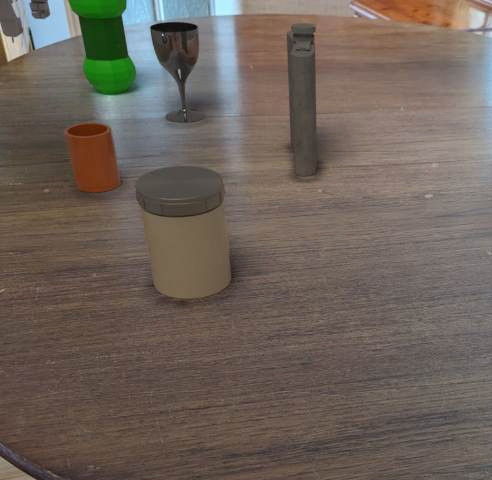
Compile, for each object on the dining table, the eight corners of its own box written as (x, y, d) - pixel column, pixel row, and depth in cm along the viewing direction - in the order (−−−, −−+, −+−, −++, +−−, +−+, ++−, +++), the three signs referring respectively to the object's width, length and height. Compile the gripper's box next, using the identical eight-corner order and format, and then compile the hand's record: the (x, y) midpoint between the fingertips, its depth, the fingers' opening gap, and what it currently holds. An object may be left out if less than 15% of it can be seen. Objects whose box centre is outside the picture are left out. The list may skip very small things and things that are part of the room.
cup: (82, 195, 103) (70, 140, 98) (71, 180, 107) (59, 126, 102) (126, 187, 106) (116, 133, 101) (114, 173, 110) (103, 120, 105)
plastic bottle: (76, 88, 143) (46, -58, 128) (126, 79, 149) (103, -61, 134) (98, 101, 137) (69, -51, 122) (150, 92, 143) (128, -54, 128)
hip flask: (290, 140, 124) (285, 12, 112) (314, 140, 125) (311, 13, 113) (295, 176, 112) (290, 37, 100) (321, 176, 112) (319, 37, 100)
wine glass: (154, 119, 130) (140, 29, 121) (177, 107, 136) (165, 20, 127) (194, 125, 128) (183, 34, 119) (215, 112, 134) (206, 24, 125)
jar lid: (154, 223, 74) (151, 205, 73) (127, 190, 81) (124, 174, 79) (237, 205, 79) (236, 189, 77) (206, 176, 85) (204, 160, 84)
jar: (168, 306, 81) (152, 210, 74) (143, 271, 87) (126, 179, 80) (243, 287, 85) (235, 194, 78) (214, 255, 91) (204, 166, 84)
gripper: (2, -119, 87) (32, 8, 95) (-79, -106, 71) (-34, 45, 79) (55, -117, 87) (80, 9, 96) (-12, -103, 71) (25, 47, 79)
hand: (28, 26), depth 87 cm, fingers open, 8 cm apart
